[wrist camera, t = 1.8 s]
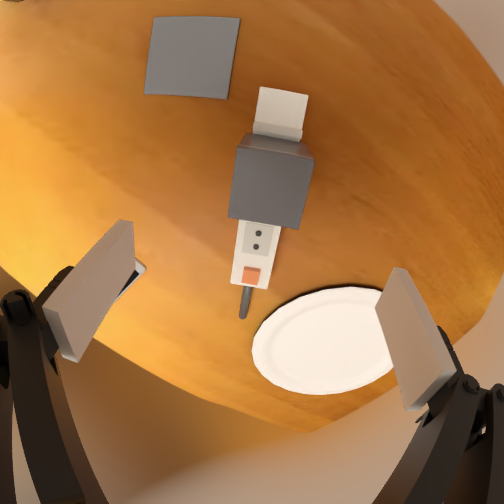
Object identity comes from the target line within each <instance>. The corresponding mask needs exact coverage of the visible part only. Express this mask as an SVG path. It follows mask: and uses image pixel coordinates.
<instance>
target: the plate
mask: <svg viewBox="0 0 504 504" xmlns="http://www.w3.org/2000/svg"><path fill="white" fill-rule="evenodd" d="M381 294H382V292H381V291H379V290H376V289H372V288H363V287H354V286H348V287H338V288H328V289H323V290H320V291H316V292H313V293H310V294H306V295H303V296H300V297H298V298H296V299H294V300H293V301H291V302H289V303H287V304H285V305H283V306H281V307H279V308H278V309H277V310H276V311H275V312H274V313H273V314H271V315H270V316H269V317H268V318H267V319H266V320H265V321H263V323H262V325H261V326H260V328H259V330H258V331H257V333H256V334H255V336H254V341H253V346H252V355H253V359H254V364H255V366H256V367H257V368H258V370H259V371H260V373H261V374H262V375H263V376H264V377H265V378H267V379H268V380H269V381H271V382H272V383H273V384H275V385H277V386H280V387H282V388H284V389H287V390H289V391H294V392H298V393H303V394H316V395H325V394H334V393H341V392H345V391H349V390H353V389H357V388H359V387H362V386H364V385H366V384H369V383H371V382H373V381H375V380H376V379H378V378H380V377H381V376H383V375H384V374H386V373H387V372H389V371H390V370H391V369H392V368H393V364H392V360H391V357H390V354H389V350H388V347H387V344H386V341H385V338H384V334H383V331H382V328H381V325H380V322H379V319H378V316H377V314H376V311H375V306H376V304H377V302H378V300H379V298H380V296H381Z"/></svg>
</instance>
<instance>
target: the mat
mask: <svg viewBox="0 0 504 504" xmlns="http://www.w3.org/2000/svg"><path fill="white" fill-rule="evenodd" d="M240 20H241V19H240V18H229V17H210V16H171V17H154V23H153V28H152V34H151V41H150V47H149V54H148V62H147V70H146V78H145V88H144V94H157V95H180V96H195V97H207V98H218V99H228V92H229V85H230V79H231V73H232V66H233V60H234V54H235V48H236V42H237V36H238V31H239V25H240Z"/></svg>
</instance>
